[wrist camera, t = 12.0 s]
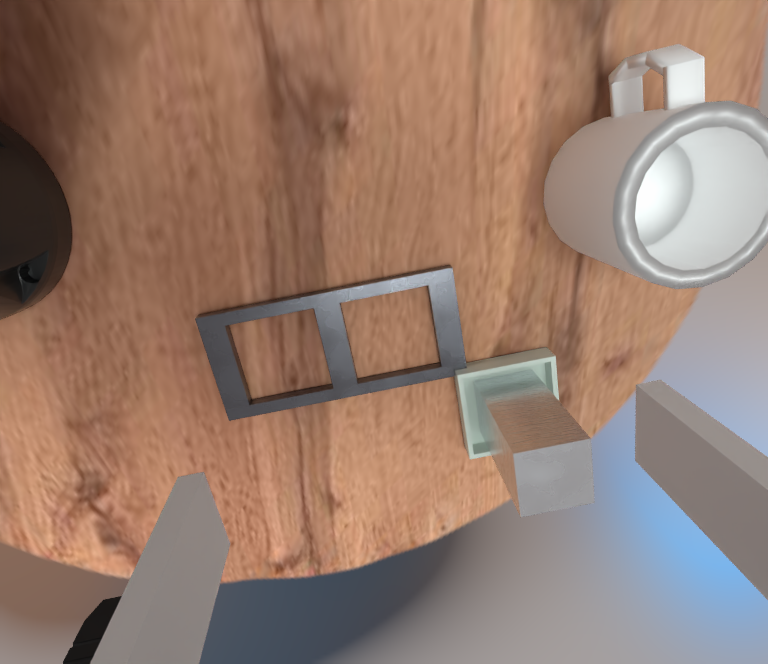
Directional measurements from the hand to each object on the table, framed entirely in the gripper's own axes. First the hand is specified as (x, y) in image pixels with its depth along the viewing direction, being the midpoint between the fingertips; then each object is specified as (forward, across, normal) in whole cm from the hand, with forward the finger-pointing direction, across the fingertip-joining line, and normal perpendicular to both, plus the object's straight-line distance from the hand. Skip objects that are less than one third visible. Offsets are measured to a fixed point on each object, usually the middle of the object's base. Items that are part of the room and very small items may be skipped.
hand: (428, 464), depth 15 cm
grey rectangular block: (+24, +9, -13) cm, 29 cm away
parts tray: (+25, +9, -13) cm, 30 cm away
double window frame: (+25, -4, -5) cm, 26 cm away
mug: (+25, +19, +4) cm, 32 cm away
